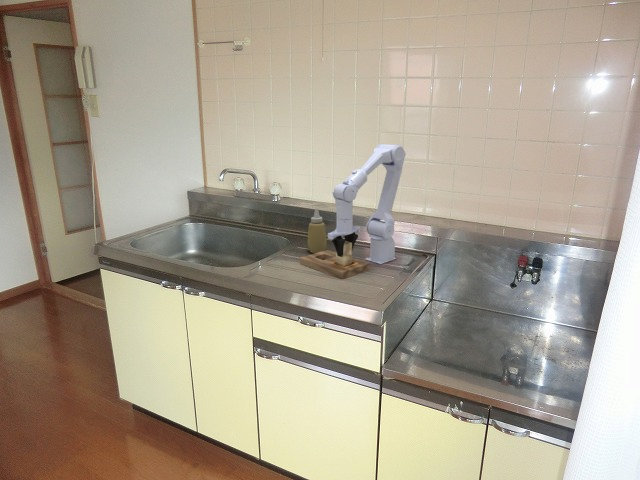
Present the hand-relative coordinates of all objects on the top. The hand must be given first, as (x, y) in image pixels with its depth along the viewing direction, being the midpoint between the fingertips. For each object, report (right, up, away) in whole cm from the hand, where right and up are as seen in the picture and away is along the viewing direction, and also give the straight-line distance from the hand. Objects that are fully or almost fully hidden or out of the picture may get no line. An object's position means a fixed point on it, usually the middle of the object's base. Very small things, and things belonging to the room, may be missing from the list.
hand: (344, 254), depth 171 cm
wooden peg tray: (-4, -5, +6) cm, 8 cm away
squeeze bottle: (-10, 0, +24) cm, 26 cm away
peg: (0, -3, +1) cm, 4 cm away
